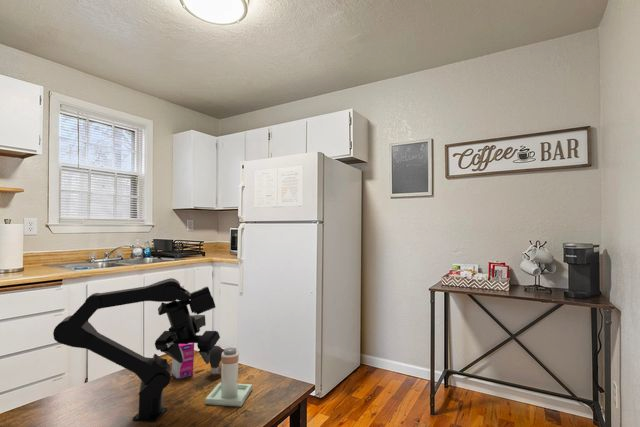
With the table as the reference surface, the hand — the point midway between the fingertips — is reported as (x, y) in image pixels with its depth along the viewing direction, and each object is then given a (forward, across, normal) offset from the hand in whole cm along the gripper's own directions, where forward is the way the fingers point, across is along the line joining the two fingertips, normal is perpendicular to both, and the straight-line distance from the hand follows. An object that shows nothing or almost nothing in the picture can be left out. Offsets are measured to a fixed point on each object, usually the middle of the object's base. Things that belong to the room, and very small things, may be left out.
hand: (194, 362), depth 106 cm
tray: (+13, -9, 0) cm, 15 cm away
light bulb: (+17, +4, -12) cm, 21 cm away
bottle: (+12, -8, 0) cm, 15 cm away
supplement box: (+15, +15, -9) cm, 23 cm away
